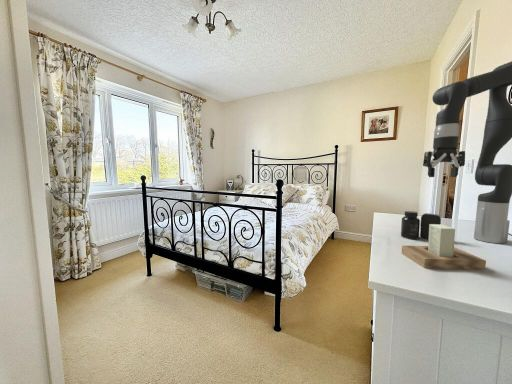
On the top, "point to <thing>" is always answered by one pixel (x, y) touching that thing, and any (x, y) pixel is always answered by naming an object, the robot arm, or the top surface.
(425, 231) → the battery charger
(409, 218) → the supplement bottle
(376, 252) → the top surface
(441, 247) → the skincare box
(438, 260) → the board
